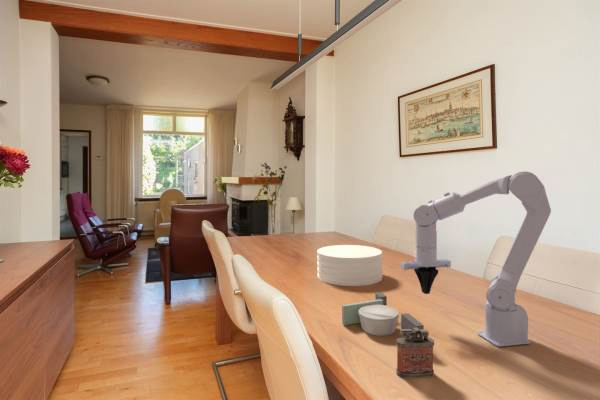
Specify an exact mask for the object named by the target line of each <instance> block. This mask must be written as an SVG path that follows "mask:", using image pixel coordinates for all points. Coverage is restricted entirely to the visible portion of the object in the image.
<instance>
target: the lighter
mask: <svg viewBox="0 0 600 400" xmlns="http://www.w3.org/2000/svg"><path fill="white" fill-rule="evenodd" d="M399 336H400V337H399V338H396V340H395V341H396V354H397V355H396V361H397V362H396V368H395V370H396V371H395V372H396V376H398V377H400V378H403V377H404V378H405V377H406V378H408V379H423V378H424V379H425V378H431V377H433V376H434V375H435V374H434V373H435V369H434V345H435V339H433V338H431V337H429V330H428V329H427V328H426V329H425V328H424V329H418V328H417V327H415V328H413V330H411V329H401V328H400V329H399ZM401 336H402V337H404V338H401ZM423 336H424V337H423Z"/></svg>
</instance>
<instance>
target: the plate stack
mask: <svg viewBox="0 0 600 400" xmlns="http://www.w3.org/2000/svg"><path fill="white" fill-rule="evenodd" d="M316 255H317V256H316V260H317V262H316V266H317V268H316V272H317V274H316V276H317V277H316V278H317V279H318V280H319V279H320V280H319V281H321V282H323V281H324V283H326V284H329V285H330V284H331V285H336V286H345V287H360V286H361V287H364V286H370V285H374V284H377V283H380V282H381V281H382V280H383V263H382V262H383V250H381V249H379V248H378V247H377V248H376V247H373V246H368V245H361V244H360V245H357V244H337V245H335V244H334V245H328V246H322V247H320V248H318V249H317V250H316Z"/></svg>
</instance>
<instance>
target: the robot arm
mask: <svg viewBox="0 0 600 400" xmlns="http://www.w3.org/2000/svg"><path fill="white" fill-rule="evenodd" d="M510 192H511V194H512V195H514V196H515V198H517V199H518V200H519V201H520V202H521V204H522V206H523V208H524V209H525V211H526V214H525V216H524V218H523V221H522V223H521V225H520V227H519V230H518V232H517V234H516V236H515V238H514V240H513V243H512V244H511V247H510V249H509V251H508V253H507V256H506V258H505V260H504V263H503V265H502V266H501V268H500V270H499V273H498V274H497V275H496V277H494V278H493V279H492V280H491V281H490V283H489V287H488V288H487V290H486V294H485V295H486V301H485V315H484V316H485V318H484V319H485V320H484V323H485V325H484V326H485V327H484V328H485V329H484V330H483V331H478V332H477V335H479V336H480V337H481V338H483V339H485V340H487V341H488V342H489V343H491V344H493V345H495V346H496V347H499V348H500V347H507V346H508V347H511V346H519V345H527V344H528V345H529V344H531V341H530V340H528V338H529V317H528V313H527V311H526V309H525V308H524V307H523V306H522V305H519V304H517V303H516V302H515V301H516V293H517V287H518V284H519V282H520V279H521V276H522V275H523V272H524V270H525V268H526V266H527V264H528V262H529V259H530V257H531V255H532V253H533V251H534V250H535V247H536V245H537V243H538V241H539V239H540V237H541V234H542V232H543V230H544V228H545V226H546V224H547V222H548V220H549V218H550V215H551V213H552V208H551V205H550V202H549V199H548V195H547V192H546V188H545V185H544V184H543V183H542V181H541V179H539V177H538V176H537V175H536V174H534V173H533V172H530V171H525V170H524V171H519V172H517V173H515V174H513V175H512V174H509V175H505V176H502V177H499V178H496V179H493V180H490V181H488V182H485V183H483V184H481V185H480V186H477V187H475V188H473V189H470V190H468V191H466V192H464V193H462V194H459V193H456V192H451V193H450V192H445V193H444V194H443V195H444V196H442V197H440V198H439V197H438V198H437V199H434V200H432V199H431V200H428V201H427V203H428V204H421V205H419V206H418V207H417V208H415V210H414V211H413V219H414V221H415V259H414V260H409V261H401V262H400V269H401V270H403V271H408V270H413V271H414V272H415V274H416V277H417V279H418V282H419V285H420V289H421V293H422V294H424V295H430V294H431V290H432V287H433V284H434V281H435V279H436V277H437V276H438V275H439V269H438V268H451V266H452V265H451V262H452V261H451V260H449V259H438V258H437V242H438V241H437V238H438V237H437V221H438V220H439V221H443V220H445V219H447V218H450V217H453V216H455V215H457V214H460V213H463V212H464V210H465V208H466V205H469V204H472V203H474V202H476V201H479V200H482V199H485V198H488V197H490V196H493V195H509V194H510Z"/></svg>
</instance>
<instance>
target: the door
mask: <svg viewBox="0 0 600 400" xmlns="http://www.w3.org/2000/svg"><path fill="white" fill-rule="evenodd" d="M372 304H377V305H383V300H382V299H379V300H374V299H373V300H367V301H360V302H354V303H348V304H347V303H346V304H342V305H341V308H342V309H341V313H342V314H341V317H342V319H341V324H342V325H343V326H346V325H352V324H357V323H361V322H360V316H359V309H360V308H361V307H363V306H366V305H372Z"/></svg>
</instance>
